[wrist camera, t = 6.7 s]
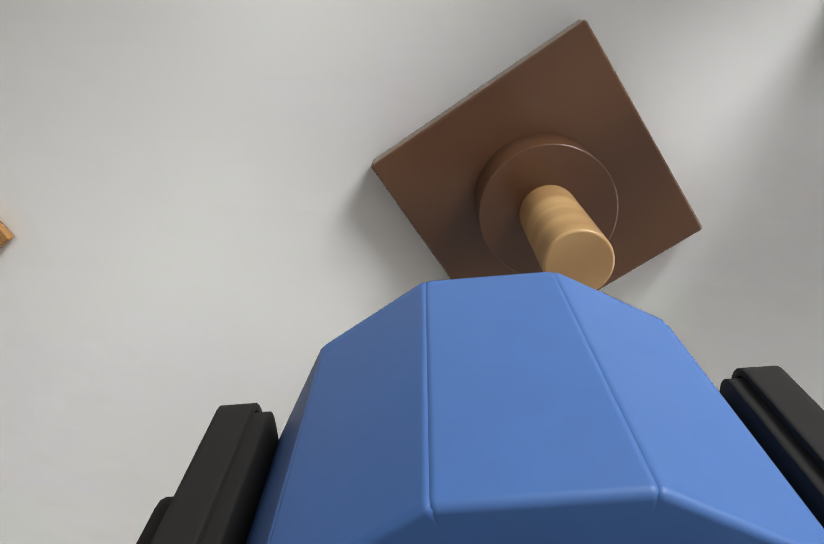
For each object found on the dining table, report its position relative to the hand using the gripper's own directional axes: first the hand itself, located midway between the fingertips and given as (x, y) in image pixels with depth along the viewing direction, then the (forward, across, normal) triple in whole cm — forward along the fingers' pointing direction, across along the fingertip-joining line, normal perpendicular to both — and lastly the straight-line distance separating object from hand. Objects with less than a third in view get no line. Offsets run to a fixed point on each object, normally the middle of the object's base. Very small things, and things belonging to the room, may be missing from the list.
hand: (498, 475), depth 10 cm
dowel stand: (+18, -3, 0) cm, 18 cm away
